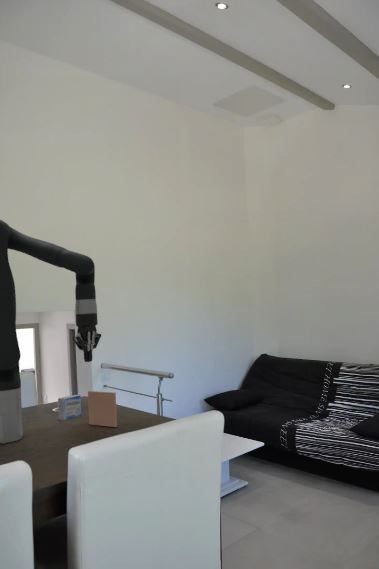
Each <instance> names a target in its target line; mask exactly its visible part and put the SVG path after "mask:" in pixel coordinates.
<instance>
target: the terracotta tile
mask: <svg viewBox="0 0 379 569" xmlns="http://www.w3.org/2000/svg"><path fill="white" fill-rule="evenodd" d="M116 394H117V393H116V392H112V391H95V390H87V399H88V400H87V401H88V403H87V405H88V406H87V407H88V422H89V425H91V426H92V425H93V426H102V427H110V428H117V427H118V418H117V416H118V415H117V397H116Z"/></svg>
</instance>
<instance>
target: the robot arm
mask: <svg viewBox="0 0 379 569" xmlns="http://www.w3.org/2000/svg"><path fill="white" fill-rule="evenodd" d="M8 250H13V251H16V252H20V253H22V254H26V255H28V256H30V257H32V258H34V259H37V260H39V261H42V262H43V263H47V264H49V265H52V266H53V267H57V268H62V269H66V270H68V271H70V272H73V273H75V283H76V284H75V289H74V290H75V292H74V293H75V305H74V306H75V308H74V312H75V314H74V315H75V326H76V327H77V331H76V333H77V334H76V335H74V336H72V341H73V342H74V343H75V345H76V347H77V348H78V350H79V351H83V360H84V363H90V362H93V351H94V350H95V349H96V348H97V347H98V345H99V343H100V339H101V337H102V334H101V333H98V331H97V327H96V326H97V325H98V305H97V296H96V295H97V292H96V285H95V282H96V280H95V278H96V277H95V276H96V274H95V273H96V272H95V270H96V267H95V266H96V265H95V263H94V260H93V259H92V258H91V257H90V256H88V255H85V254H83V253H79V252H75V251H73V250H69V249H67V248H65V247H62V246H60V245H57V244H54V243H53V242H52V243H51V242H49V241H45V240H43V239H38V238H35V237H32V236H29V235H26V234H24V233H22V232H20V231H18V230H17V229H15V228H13V227H11V226H10V225H9V224H8V223H7V222H5V221H4V220H2V219H0V444H7V443H12V442H16V441H20V440H22V439H23V438H24V436H23V434H24V432H23V412H22V411H23V408H22V385H21V384H22V381H21V380H22V379H21V373H20V360H21V350H20V344H19V340H18V334H17V326H16V323H17V322H16V320H17V299H16V298H17V297H16V296H17V295H16V294H17V293H16V285H15V279H14V276H13V271H12V269H11V265H10V262H9V261H10V260H9V254H8V253H9V251H8Z"/></svg>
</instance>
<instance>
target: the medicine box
mask: <svg viewBox="0 0 379 569" xmlns="http://www.w3.org/2000/svg"><path fill="white" fill-rule="evenodd" d="M58 407H59V408H58ZM57 408H58V420H59V421H68V420H70V419H75V418H78V417H82V399H81V395H80V394H72V395H68V396H64V397H59V398H58V399H57Z"/></svg>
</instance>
